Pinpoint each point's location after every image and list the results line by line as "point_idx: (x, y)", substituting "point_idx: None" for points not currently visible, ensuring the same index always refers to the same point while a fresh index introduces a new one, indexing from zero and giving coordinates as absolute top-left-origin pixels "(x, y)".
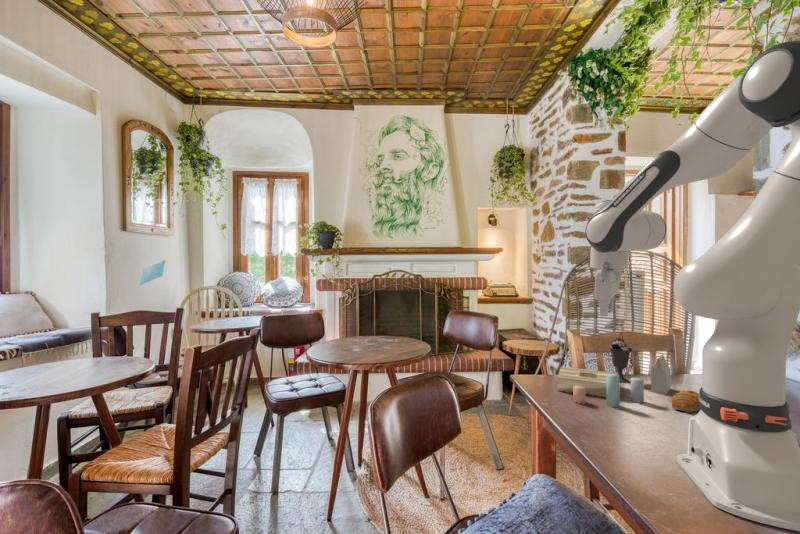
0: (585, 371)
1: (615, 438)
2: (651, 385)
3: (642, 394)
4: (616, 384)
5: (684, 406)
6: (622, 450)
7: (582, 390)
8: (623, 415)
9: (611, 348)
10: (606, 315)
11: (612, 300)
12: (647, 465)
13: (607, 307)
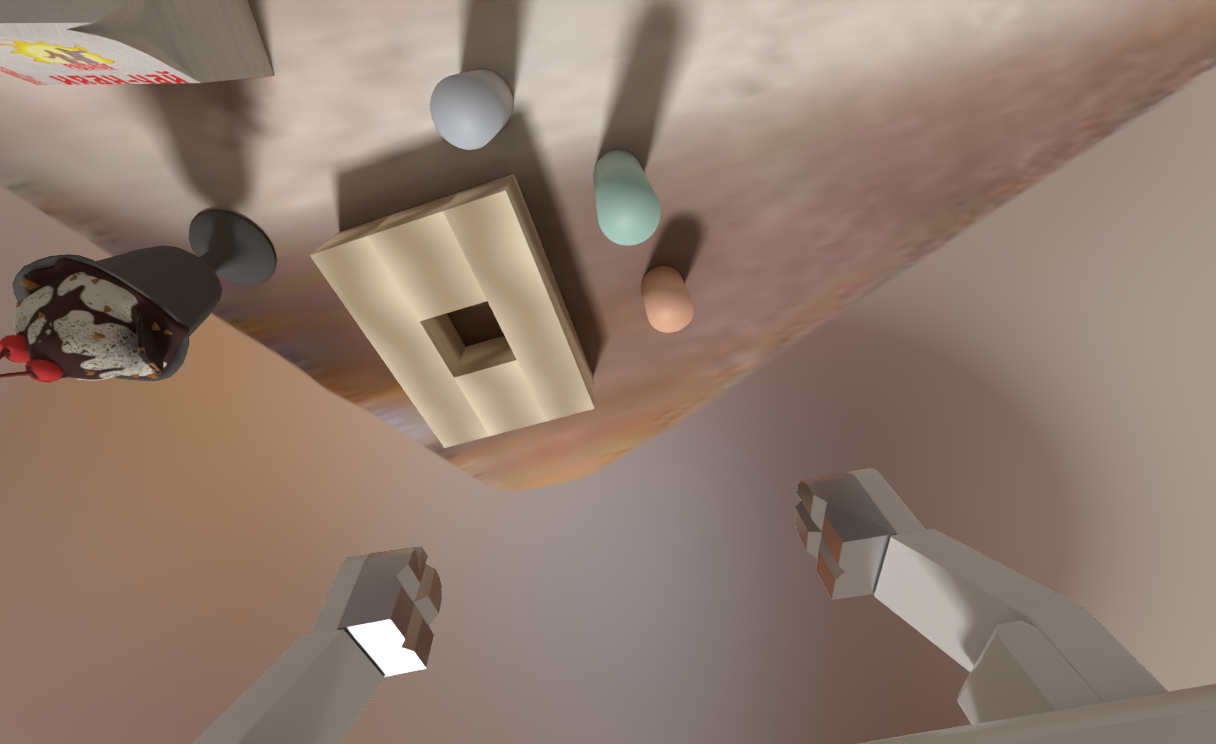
0: (425, 365)
1: (972, 68)
2: (252, 75)
3: (487, 74)
4: (646, 180)
5: None
6: (1079, 13)
7: (687, 293)
8: (711, 107)
9: (168, 360)
10: (875, 477)
11: (293, 696)
12: None
13: (986, 560)
